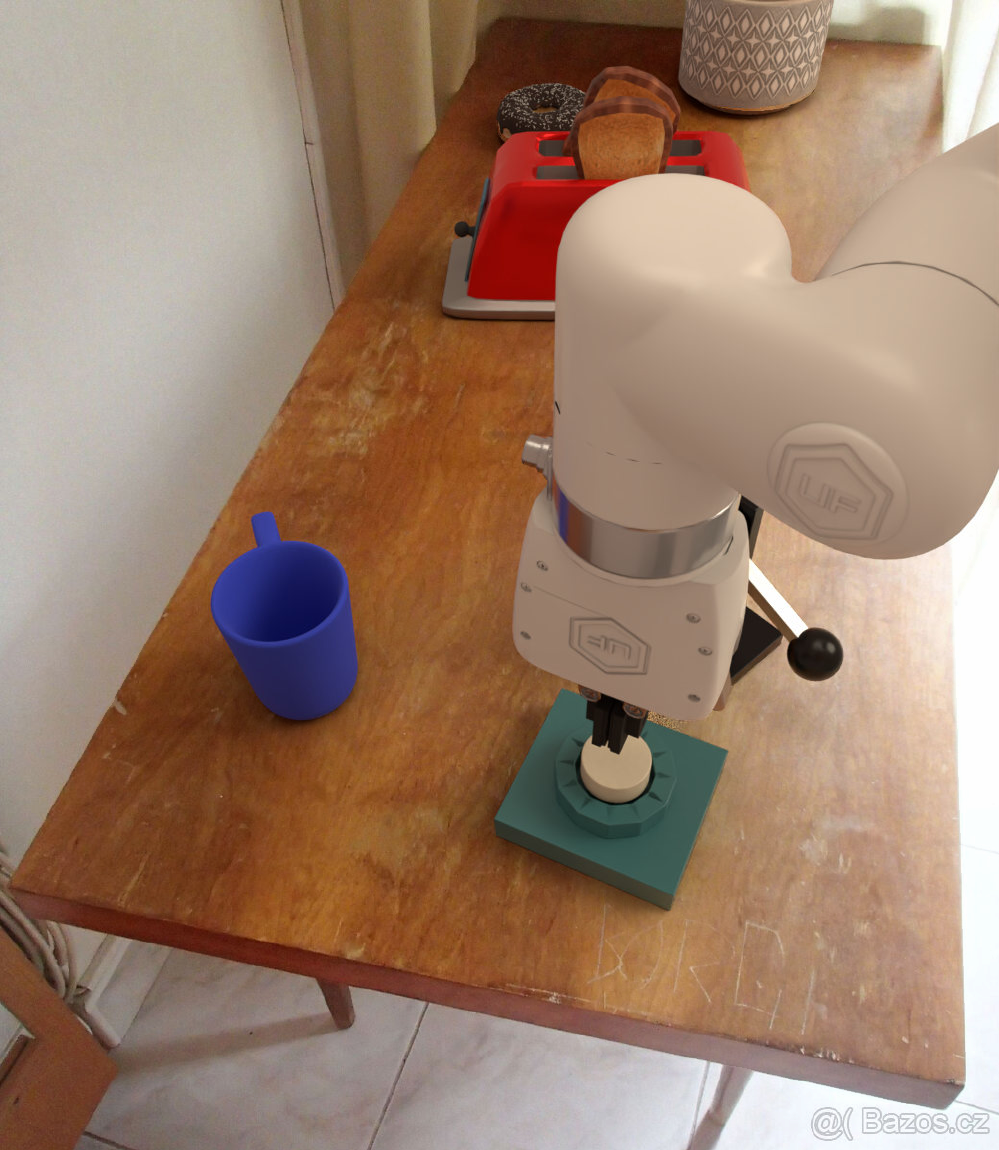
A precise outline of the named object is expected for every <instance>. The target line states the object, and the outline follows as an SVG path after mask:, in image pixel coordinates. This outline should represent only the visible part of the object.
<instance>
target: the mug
mask: <svg viewBox="0 0 999 1150" xmlns="http://www.w3.org/2000/svg"><path fill="white" fill-rule="evenodd" d="M250 523H251V527H252V528H251V529H252V530H253V531H252V532H253V535H254V540H255V543H256V547H254V548H252V549H250V550H248V551H246V552H244V553H242V554H240V555H239V556H238V557H237V558H235V559H234V560H233V561H231V562H230V563H229V564H228V565H227V566H226V568H224V569H223V571H221V573H220V575H219V576H218V577H217V579H216V582H214V585H213V587H212V591H211V595H210V612H211V616H212V619H213V621H214V623H215V625H216V627H217V628H218V630H219V632H220V634H221V635H222V637H223V639H224V641H225V643H226V645H227V646H228V648H229V649H230V651H231V653H232V655H233V656H234V658H235V660H236V662H237V664H238V665H239V667H240V669H241V670H242V672H243V674H244V676H245V677H246V679H247V681H248V682H249V684H250V686H251V688H252V690H253V691H254V694H255V695H256V697H257V698H258V699H259V701H260V702H261V703H262V704H263V705H264V706H265V707H266V709H268V710H269V711H270V712H272V713H274V714H275V715H278V716H280V717H281V718H285V719H289V720H295V721H308V720H314V719H318V718H321V717H323V716H327V715H328V714H329V713H332V712H333V711H335V710H336V709H338V708H340V706H341V705H342V704H343V703H344V702H345V701H346V700H347V699H348V698H349V696H350V694H351V693H352V691H353V689H354V687H355V684H356V682H357V677H358V670H359V664H358V663H359V662H358V661H359V660H358V652H357V646H356V645H357V644H356V636H355V627H354V620H353V611H352V603H351V602H352V601H351V595H350V585H349V579H348V575H347V572H346V570H345V567H344V566H343V564H342V562H341V561H340V560H339V558H337V556H336V555H334V554H333V552H331V551H329V550H328V549H326V548H324V547H322V546H319V545H318V544H316V543H315V544H314V543H311V542H307V541H300V540H281V539H282V538H281V536H280V531H279V528H278V525H277V521H276V518H275V515H274V513H273V512H272V511H262V512H258V513H255V514H254V515H252V516H251V518H250Z"/></svg>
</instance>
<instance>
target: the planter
mask: <svg viewBox="0 0 999 1150" xmlns="http://www.w3.org/2000/svg"><path fill="white" fill-rule="evenodd" d="M834 4H835V0H686V1H685V8H684V9H685V10H684V18H683V30H682V38H681V39H682V40H681V48H680V59H679V68H678V77H677V78H678V82H679V83H678V84H679V85H680V87H681V89H683V91H684V92H685V93H687V94H688V95H689V96H691V97H692V98H693V99H696V100H697V101H698V102H699V103H701V104H703V106H706V107H708V108H709V109H713V110H716V111H719V112H723V113H729V114H733V115H746V116H747V115H749V116H752V115H766V114H771V113H776V112H780V111H783V110H785V109H787V108H789V107H790V106H787V107H784V108H779V109H773V110H764V111H742V110H733V109H726V108H721V106H722V107H729V108H739V109H740V108H744V109H745V108H748V109H750V108H753V109H754V108H760V107H767V106H768V107H769V106H776V105H781V104H785V103H788V102H792V101H794V100H797V99H799V98H801V97H803V96H805V95H806V94H808V93H810V92H812V91H813V90H814V89H815V87H816V88H817V86H816V85H818V82H819V81H818V80H819V76H820V72H821V67H822V61H823V56H824V53H825V46H826V42H827V38H828V33H829V28H830V23H831V18H832V14H833V9H834ZM815 90H816V89H815ZM815 90H814V91H815ZM704 102H705V103H704ZM713 105H714V106H713ZM717 106H720V107H717Z"/></svg>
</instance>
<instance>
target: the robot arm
mask: <svg viewBox="0 0 999 1150" xmlns="http://www.w3.org/2000/svg"><path fill="white" fill-rule="evenodd" d="M792 273H793V256H792V247H791V243H790V239H789V236H788V233H787V229H786V228H785V227H784V224H783V223H782V221H781V219H780V217H778V215H777V214H776V213H775V211H774V210H773V209H772V208H771V207H770V206H768V205H767V204H766V203H765V202H764V201H763V200H761V199H760V198H758V197H757V196H756V195H754V194H752V192H751V193H749V192H748V191H746V190H744V189H742V188H740V187H738V186H736V185H734V184H731V183H728V182H725V181H722V180H719V179H714V178H710V177H706V176H700V175H692V174H679V173H667V174H652V175H644V176H639V177H634V178H630V179H627V180H624V181H621V182H618V183H616V184H614V185H611V186H609V187H607V188H605V189H603V190H601V191H599V192H598V193H596V194H595V195H593V196H592V197H590V198H589V199H588V200H587V201H585V202H584V203H583V204H582V205H581V206H580V207H579V209H578V210H577V211H576V212H575V213H574V214H573V216H572V218H571V219H570V221H569V222H568V224H567V226H566V228H565V230H564V232H563V235H562V239H561V242H560V245H559V249H558V256H557V268H556V299H555V320H554V354H553V410H552V411H553V413H552V414H553V415H552V416H553V417H552V424H553V425H552V435H547V436H546V437H544V436H540V435H537V434H534V433H531V434H530V435H529V436H528V437H527V439H526V441H525V443H524V445H523V448H522V451H521V452H522V453H521V463H522V465H524V466H527V467H530V468H534V469H536V470H537V473H538V474H539V473H540V474H542V476H543V477H544V479H546V486H544V488H542V490H541V491H540V493H538V495H537V496H536V498H535V500H534V503H533V504H532V507H531V510H530V513H529V516H528V520H527V523H526V527H525V532H524V536H523V540H522V545H521V552H520V557H519V560H518V561H519V562H518V569H517V575H516V583H515V590H514V596H513V597H514V599H513V609H512V640H513V644H514V647H515V649H516V651H517V653H518V654H519V655H520V656H521V658H523V659H524V660H525V661H527V662H528V663H529V664H531V665H533V666H534V667H536V668H539V669H540V670H543V671H544V672H547V673H549V674H552V675H554V676H557V677H559V678H561V679H564V680H567V681H569V682H572V683H575V684H577V688H578V692H579V693H578V694H580V695H581V696H582V697H584V698H585V699H587V709H586V719H589V720H591V721H593V731H592V743H591V744H593V745H595V746H598V747H601V746H606V744H607V741H608V746H607V748H610V752H613V753H615V754H618V755H619V754H620V752H621V750H622V748H623V746H624V744H625V741H626V739H627V737H628V735H630V736H632V737H635V738H637V739H638V738H639V737H640V735H641V733H642V730H643V728H644V726H645V723H646V720H648V717H649V713H650V712H652V713H655V714H658V715H660V716H663V717H666V718H670V719H674V720H677V721H684V722H699V721H704V720H706V719H707V718H708V717H709V716H710V715H711V713H712V712H723V711H724V710H725V708H726V706H727V703H728V701H729V698H730V695H731V693H732V689H733V686H732V685H731V677H730V670H729V668H730V664H731V659H732V656H733V654H734V653H735V651H736V650H737V648H738V644H739V640H740V636H741V631H742V626H743V621H744V615H745V608H746V606H747V600H748V593H747V591H748V581H749V539H748V530H747V523H746V520H745V517H744V515H743V514H742V513H741V512H740V511H738V508H739V503H740V499H741V495H743V496H744V497H745V498H747V499H748V500H750V501H751V502H753V503H754V504H756V505H757V506H758V507H760V508H761V509H763V510H764V512H766V513H767V514H769V515H771V516H772V517H774V518H776V519H777V520H778V521H780V522H781V523H782V524H785V526H788V527H789V528H791V529H792V530H794V531H796V532H797V533H800V534H802V535H803V536H805V537H807V538H809V539H810V540H813V541H814V542H817V543H820V544H822V545H823V546H825V547H829V548H831V549H833V550H835V551H838V552H841V553H845V554H848V555H852V556H856V557H859V558H865V559H870V560H871V559H872V560H883V561H884V560H885V561H888V560H889V561H890V560H904V559H909V558H915V557H918V556H921V555H924V554H925V555H926V554H927V553H929V552H932V551H934V550H936V549H938V548H940V547H942V546H944V545H945V544H946V543H948V542H949V541H951V540H952V539H953V538H955V537H956V536H957V535H958V534H960V533H961V532H962V531H963V530H964V528H965V527H967V525H969V523H970V522H971V521H972V520H973V519H974V518H975V516H976V515H977V513H978V512H979V510H980V509H981V508H982V505H983V504H984V502H985V500H986V498H987V496H988V494H989V492H990V490H991V488H992V487H993V484H994V482H995V479H996V477H997V475H998V472H999V121H998V122H997V123H995V124H993V125H991V126H989V127H988V128H986V129H984V130H982V131H980V132H978V133H977V134H975V135H973V136H971V137H969V138H968V139H966V140H964V141H963V142H961V143H959V144H956V145H955V146H953V147H952V148H950V149H948V150H947V151H945V152H943V153H941V154H940V155H938V156H936V157H934V158H933V159H931V160H929V161H928V162H925V163H924V164H923V165H921V166H919V167H918V168H916V169H915V170H913V171H912V172H910V173H909V174H908V175H906V176H904V177H903V178H902V179H900V180H899V181H898V182H896V183H895V184H894V185H893V186H891V187H890V188H888V189H887V190H886V191H884V192H883V193H882V194H881V195H880V196H879V197H878V198H877V199H876V200H875V201H874V202H873V203H872V204H871V205H870V206H869V207H867V209H865V211H863V212H862V213H861V214H860V216H858V218H856V220H855V222H854V223H853V224H852V225H851V227H850V228H849V229H848V230H847V231H846V233H845V234H844V236H843V237H842V238H841V240H840V241H839V242H838V244H837V245H836V246H835V248H834V249H833V250H832V252H831V253H830V254H829V256H828V257H827V259H826V260H825V262H824V263H823V265H822V266H821V268H820V270H819V271H818V272H817V274H816V276H815V277H814V278H813V280H812V281H811V282H802V281H799V280H797V279H796V278H794V275H792Z"/></svg>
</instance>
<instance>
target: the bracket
mask: <svg viewBox="0 0 999 1150" xmlns="http://www.w3.org/2000/svg"><path fill="white" fill-rule="evenodd" d="M738 511H740V512H741V513H742V514H743V515H744V517H745V520H746V523H747V530H748V539H749V557H750V559H751V560H752V561H753V556H754V552H755V549H756V544H757V540H758V536H759V532H760V528H761V523H762V520H763V517H764V512H765V511H764V510H763V509H761V508H760V507H758V506H757V505H756V504H754V503H753V502H751V501H750V500H748V499H747V498H745V497H744V496H743V495H741V499H740V503H739V508H738ZM783 638H784V636H783V635H782V633H781V632H780V631H779V630H778V629H777V627H776V626H775V625H774V624H773V623H772V624H771V623H770V622H769V621H768V620H766V619H765V618H763V617H762V616H761V615H760V614H758V613H757V612H756V611H754V610H752V609H751V608H750V607H749V606H748V605H746V608H745V615H744V621H743V626H742V631H741V636H740V640H739V644H738V648H737V650H736V651H735V653H734V654H733V656H732V659H731V664H730V668H729V670H730V677H731V685H732V687H733V686H734V685H736V683H738V682H739V681H740V680H741V679H742V678H744V676H746V674H748V673H749V672H750V671H752V670H753V669H754V668H755V667H756V666H757V665H758V664H759V663H760V662H762V661H763V660H764V659H765V658H766V657H768V656H769V655H770V654H771V653H772V652H773V651H775V649H777V648H778V647H779V646H780V645H781V644H782V641H783Z"/></svg>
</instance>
